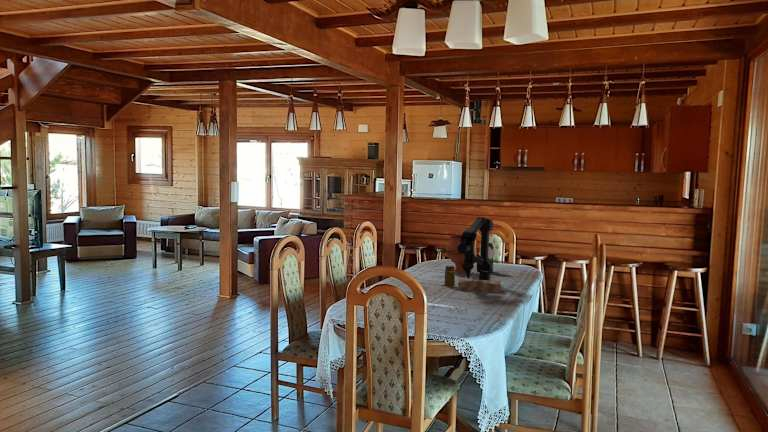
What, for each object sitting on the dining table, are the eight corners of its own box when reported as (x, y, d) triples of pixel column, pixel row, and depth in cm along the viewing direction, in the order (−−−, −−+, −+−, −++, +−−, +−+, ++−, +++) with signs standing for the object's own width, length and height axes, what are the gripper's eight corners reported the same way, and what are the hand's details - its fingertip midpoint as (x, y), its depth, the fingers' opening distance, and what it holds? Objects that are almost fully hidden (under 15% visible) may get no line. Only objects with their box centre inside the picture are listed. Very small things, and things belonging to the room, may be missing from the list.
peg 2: (486, 290, 336) (486, 282, 335) (486, 288, 340) (486, 281, 340) (494, 290, 335) (494, 282, 334) (494, 289, 339) (494, 281, 339)
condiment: (457, 286, 348) (458, 266, 347) (446, 287, 344) (447, 267, 343) (449, 284, 354) (450, 264, 353) (439, 285, 350) (439, 266, 349)
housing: (458, 290, 337) (458, 281, 336) (459, 287, 345) (459, 278, 345) (499, 292, 332) (500, 283, 332) (499, 289, 341) (500, 281, 340)
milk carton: (488, 273, 394) (489, 244, 392) (477, 271, 400) (477, 242, 398) (494, 271, 401) (495, 243, 399) (483, 269, 406) (484, 241, 405)
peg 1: (464, 286, 338) (464, 278, 338) (464, 284, 342) (464, 277, 342) (471, 286, 337) (471, 278, 337) (472, 284, 342) (472, 277, 341)
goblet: (452, 275, 384) (452, 238, 382) (441, 270, 403) (442, 234, 401) (478, 274, 389) (479, 237, 387) (466, 269, 408) (467, 234, 406)
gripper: (482, 254, 327) (481, 281, 329) (483, 250, 346) (482, 275, 347) (462, 253, 330) (462, 280, 331) (464, 249, 348) (464, 274, 349)
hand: (468, 277), depth 339 cm, fingers closed, pressing on peg 1
